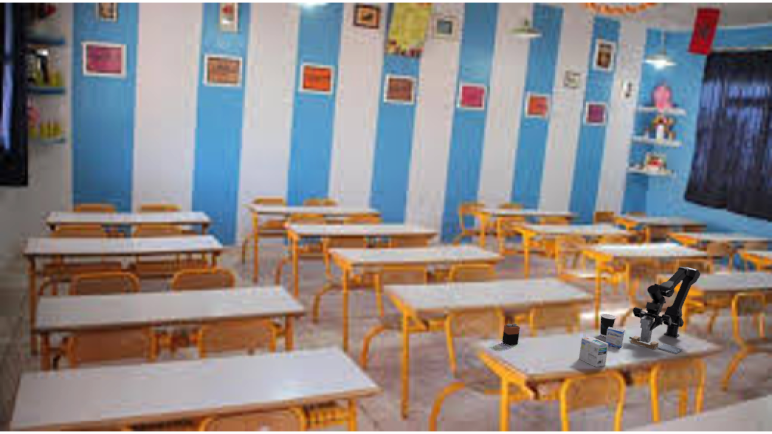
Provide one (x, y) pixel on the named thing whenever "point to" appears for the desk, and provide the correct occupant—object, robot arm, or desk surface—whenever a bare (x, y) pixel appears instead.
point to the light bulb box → (593, 351)
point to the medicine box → (614, 337)
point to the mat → (669, 348)
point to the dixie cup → (606, 323)
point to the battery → (511, 334)
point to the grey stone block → (646, 328)
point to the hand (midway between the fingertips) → (646, 329)
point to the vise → (637, 341)
